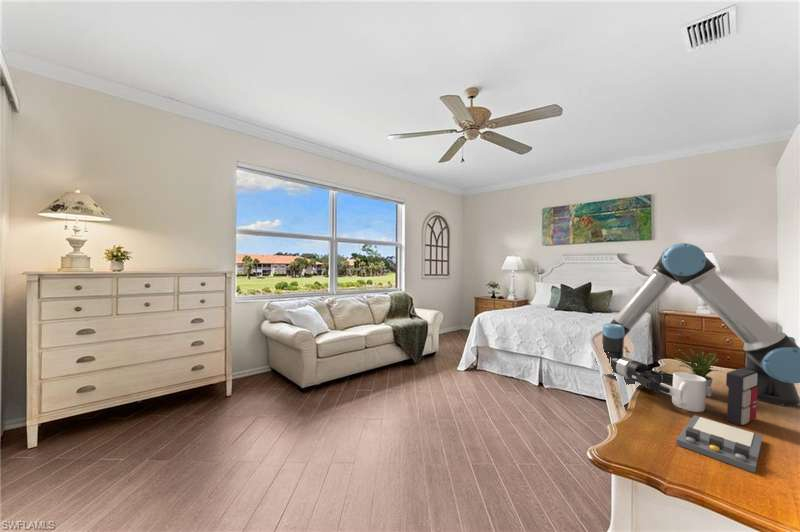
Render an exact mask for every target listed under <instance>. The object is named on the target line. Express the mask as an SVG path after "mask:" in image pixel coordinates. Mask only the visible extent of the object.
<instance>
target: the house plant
mask: <svg viewBox="0 0 800 532" xmlns="http://www.w3.org/2000/svg"><path fill="white" fill-rule="evenodd" d="M675 351H677V352H679V354H681V355H683V356H686V358H687V359H688V360H689V362H688V361H686V360H684V359H681V358H676V357H674V359H675V360H677V361H676V362H677V363H678V362H679V363H681V364H679V365H677V368H680V367H686V368H687V369H688V370H689V371H690V372H689V373H690V374H694V375H698V376H701V377H703V378H705V379H706V386H707V387H710V388H711V386H712V385H713V380H714V379H713V377H711V376H708V374H710V373H711V372H721V373H723V371H722V370H719V369H718V370H717V369H714V367H713V365H715V364H716V363H718V362H719V359H720V358H719V357H718V358H717V359H715V358H716V356H717V354H718V352H714V353H708V354H706V355H705V356H704V352H705V351H704V350H703V351H702V352H701V354H700V355H699V354H698V353H695V351H694V350H692V349H691V348H689V352H690V353H691V354H692V356H693V359H694V360H693V359H692V358H691V357H690V356H689V355H688V354H687V353H685V352H683V351H680V350H675ZM713 360H714V361H713ZM711 368H712V369H711ZM706 397H708V396H707V395H706Z"/></svg>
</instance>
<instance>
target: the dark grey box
mask: <svg viewBox="0 0 800 532" xmlns="http://www.w3.org/2000/svg"><path fill="white" fill-rule="evenodd" d="M757 376H758V374H757V372H756V371H752V370H747V369H745V368H742V367H740V368H737V369H734V370H730V371H728V372H726V378H725V380H726V381H725V385H726V386H727V389H728V390H727V391H728V394H727V409H726V410H727V412H726V422H727V423H729V424H730V423H731V424H733V425H736V426H739V427H741V426H744V425H746V424H748V423H749V422H751V421H753V420H756V419H757V406H758V405H757V404H758V400H757V392H758V387H756V385H757Z"/></svg>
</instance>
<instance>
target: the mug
mask: <svg viewBox="0 0 800 532" xmlns="http://www.w3.org/2000/svg"><path fill="white" fill-rule="evenodd" d="M690 373H691V372H683V371H676V372H673V373H672V374H673V384H672V387H674V388H677V389H679V390H682V391H683V392H682V399H678V398H676V397H674V396H671V402H672V404H673V405H674V406H675V407H677V408H679V409H681V408H682V409H681V410H684V411H689V412H693V413H702V412H703V413H704V411H705V409H706V397H707V396H706V379H705V378H703V377H701V376H698V375H694V374H690Z"/></svg>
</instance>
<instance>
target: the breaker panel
mask: <svg viewBox="0 0 800 532" xmlns="http://www.w3.org/2000/svg"><path fill="white" fill-rule="evenodd" d="M762 443H763V435H762V434H761V435H760V434H758V433H755V432H752V431H748V430H745V429H741V428H740V427H739V428H738V427H735V426H732V425H728V424H725V423H721V422H718V421H715V420H712V419H708V418H705V417H700V416H698V415H693V416H692V417H691V418H690V420H689V421H688V422H687V424H686V426H684V428H683V429H682V430H681V432H680V434H679V435H678V436H677V438H676V446H678V447H681V448H683V449H687V450H690V451H693V452H695V453H698V454H701V455H704V456H706V457H709V458H711V459H715V460H718V461H721V462H723V463H725V464H728V465H731V466H733V467H737V468H739V469H743V470H745V471H748V472H750V473H753V474H756V470H757V466H758V462H759V456H760V451H761V447H762Z"/></svg>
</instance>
